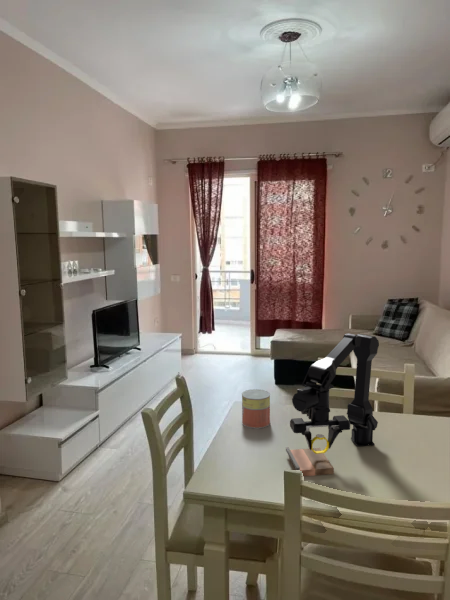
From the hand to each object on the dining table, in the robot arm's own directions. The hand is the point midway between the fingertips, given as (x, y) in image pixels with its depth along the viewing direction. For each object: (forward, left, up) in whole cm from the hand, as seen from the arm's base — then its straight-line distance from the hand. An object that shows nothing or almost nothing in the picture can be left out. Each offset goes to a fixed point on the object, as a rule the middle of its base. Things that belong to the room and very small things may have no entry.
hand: (319, 448), depth 151 cm
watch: (0, 0, -2) cm, 2 cm away
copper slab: (+4, 0, -5) cm, 6 cm away
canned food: (+15, -36, -5) cm, 39 cm away
